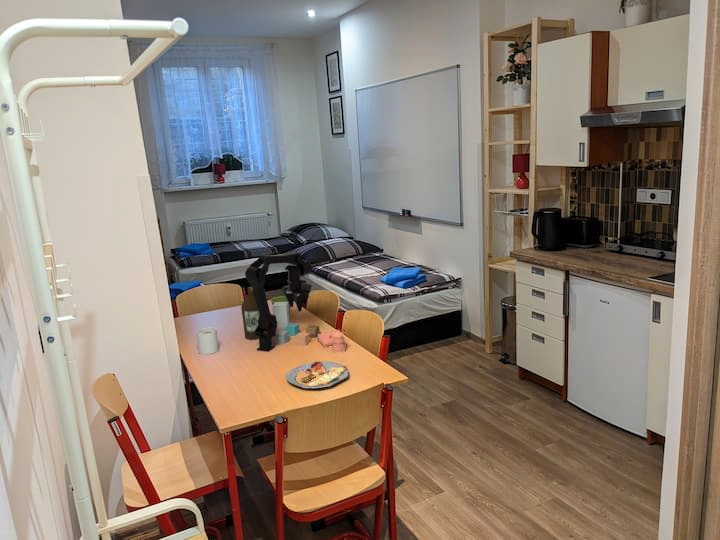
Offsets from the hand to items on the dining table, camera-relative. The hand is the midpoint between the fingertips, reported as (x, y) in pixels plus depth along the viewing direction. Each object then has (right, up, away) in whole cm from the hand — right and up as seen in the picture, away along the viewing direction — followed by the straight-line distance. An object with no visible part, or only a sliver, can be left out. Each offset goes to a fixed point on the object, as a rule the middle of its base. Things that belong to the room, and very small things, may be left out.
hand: (295, 309), depth 269 cm
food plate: (+14, -25, -47) cm, 55 cm away
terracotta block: (+4, -16, -9) cm, 19 cm away
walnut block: (+8, -14, +1) cm, 16 cm away
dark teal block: (-2, -13, +5) cm, 14 cm away
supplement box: (-9, -11, +17) cm, 22 cm away
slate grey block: (-6, -15, -5) cm, 17 cm away
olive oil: (-21, -14, +3) cm, 25 cm away
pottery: (+19, -17, -13) cm, 29 cm away
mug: (-39, -18, -13) cm, 45 cm away
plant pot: (-11, -8, +30) cm, 32 cm away
